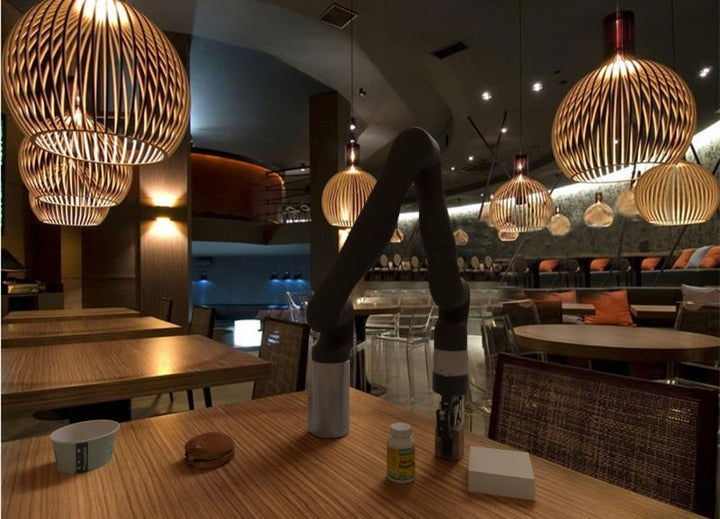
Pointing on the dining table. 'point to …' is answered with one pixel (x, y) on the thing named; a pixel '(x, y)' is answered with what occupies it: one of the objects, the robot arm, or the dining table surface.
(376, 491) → the dining table surface
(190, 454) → the burger
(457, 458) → the walnut block
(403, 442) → the supplement bottle
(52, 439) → the food container
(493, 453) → the riser block
